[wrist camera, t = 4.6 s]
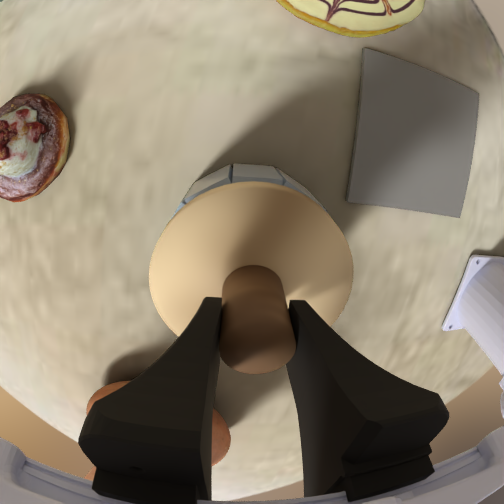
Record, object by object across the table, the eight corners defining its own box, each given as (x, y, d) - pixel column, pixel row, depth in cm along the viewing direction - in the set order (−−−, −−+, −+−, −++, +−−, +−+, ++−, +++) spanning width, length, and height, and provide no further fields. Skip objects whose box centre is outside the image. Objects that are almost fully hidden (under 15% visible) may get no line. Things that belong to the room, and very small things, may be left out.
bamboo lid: (369, 200, 12) (423, 248, 8) (316, 351, 16) (334, 415, 12) (156, 169, 11) (115, 206, 7) (156, 337, 15) (139, 404, 11)
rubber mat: (475, 93, 15) (479, 93, 14) (456, 216, 19) (459, 218, 18) (362, 49, 14) (365, 47, 13) (345, 200, 18) (347, 202, 18)
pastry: (87, 107, 15) (43, 108, 10) (58, 211, 17) (18, 239, 13) (10, 84, 13) (-36, 85, 8) (-11, 177, 16) (-52, 195, 11)
